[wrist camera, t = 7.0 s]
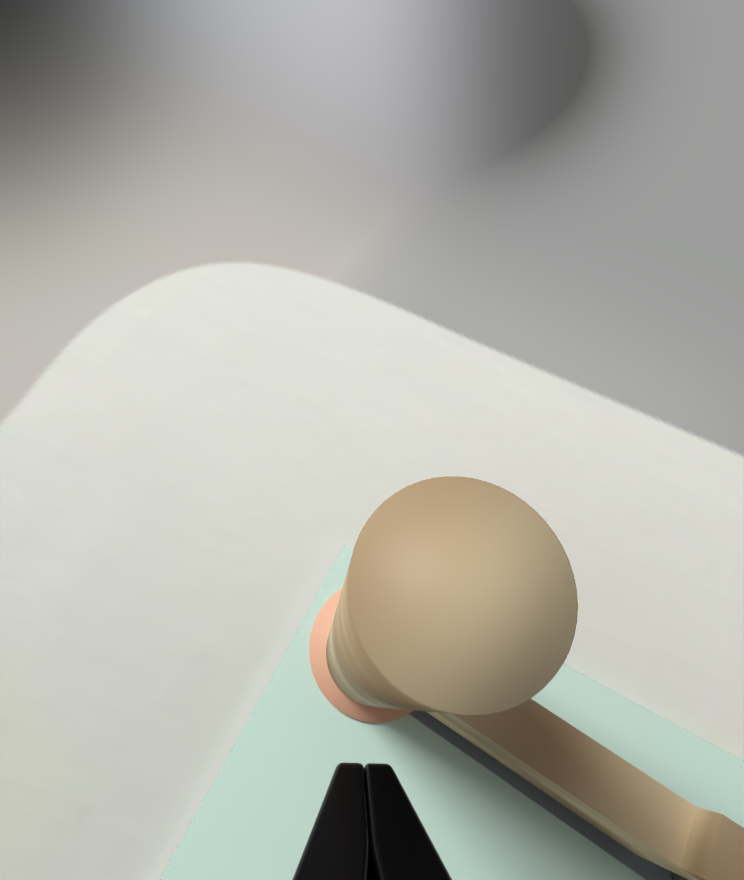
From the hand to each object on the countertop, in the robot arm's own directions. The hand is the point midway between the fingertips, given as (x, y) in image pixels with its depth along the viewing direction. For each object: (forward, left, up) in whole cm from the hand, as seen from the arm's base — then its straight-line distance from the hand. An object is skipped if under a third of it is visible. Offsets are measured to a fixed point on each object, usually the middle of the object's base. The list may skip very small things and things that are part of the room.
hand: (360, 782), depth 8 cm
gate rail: (+2, -5, -6) cm, 8 cm away
